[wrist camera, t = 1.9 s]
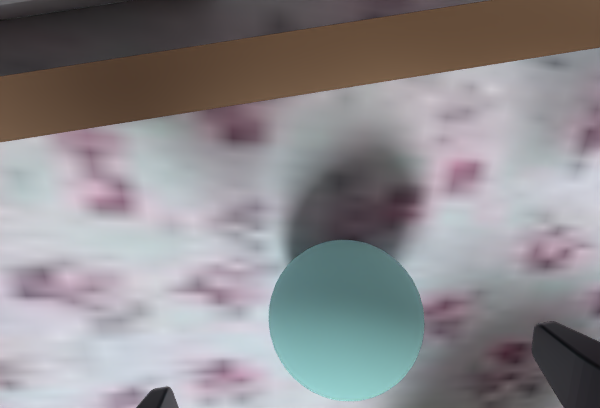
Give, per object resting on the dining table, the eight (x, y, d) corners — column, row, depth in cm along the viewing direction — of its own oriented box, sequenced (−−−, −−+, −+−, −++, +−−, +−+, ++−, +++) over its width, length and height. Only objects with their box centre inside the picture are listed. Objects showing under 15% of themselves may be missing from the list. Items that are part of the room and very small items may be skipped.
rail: (516, 48, 11) (605, 46, 8) (-159, 155, 10) (-320, 193, 7) (520, 1, 10) (615, -20, 7) (-187, 111, 10) (-370, 133, 7)
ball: (398, 315, 14) (452, 424, 10) (280, 334, 14) (284, 453, 10) (392, 206, 12) (454, 282, 8) (258, 228, 12) (252, 316, 8)
